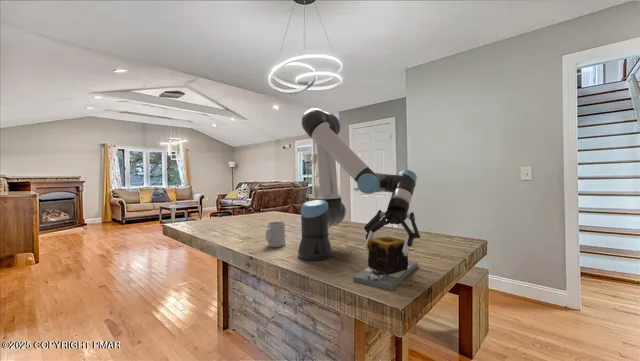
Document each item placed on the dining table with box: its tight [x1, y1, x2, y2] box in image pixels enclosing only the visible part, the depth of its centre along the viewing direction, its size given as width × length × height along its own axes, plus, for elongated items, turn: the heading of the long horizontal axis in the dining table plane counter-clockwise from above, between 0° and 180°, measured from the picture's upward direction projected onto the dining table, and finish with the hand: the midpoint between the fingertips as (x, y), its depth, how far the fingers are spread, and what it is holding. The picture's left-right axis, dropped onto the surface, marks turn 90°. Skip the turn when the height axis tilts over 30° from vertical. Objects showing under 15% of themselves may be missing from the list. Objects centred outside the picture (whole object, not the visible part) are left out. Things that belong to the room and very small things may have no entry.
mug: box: [265, 221, 286, 248], centre depth 136 cm, size 12×8×11 cm
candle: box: [367, 235, 409, 275], centre depth 96 cm, size 10×10×10 cm
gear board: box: [352, 260, 418, 291], centre depth 96 cm, size 13×26×4 cm, turn 144°
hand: (384, 250), depth 94 cm, fingers open, 13 cm apart
